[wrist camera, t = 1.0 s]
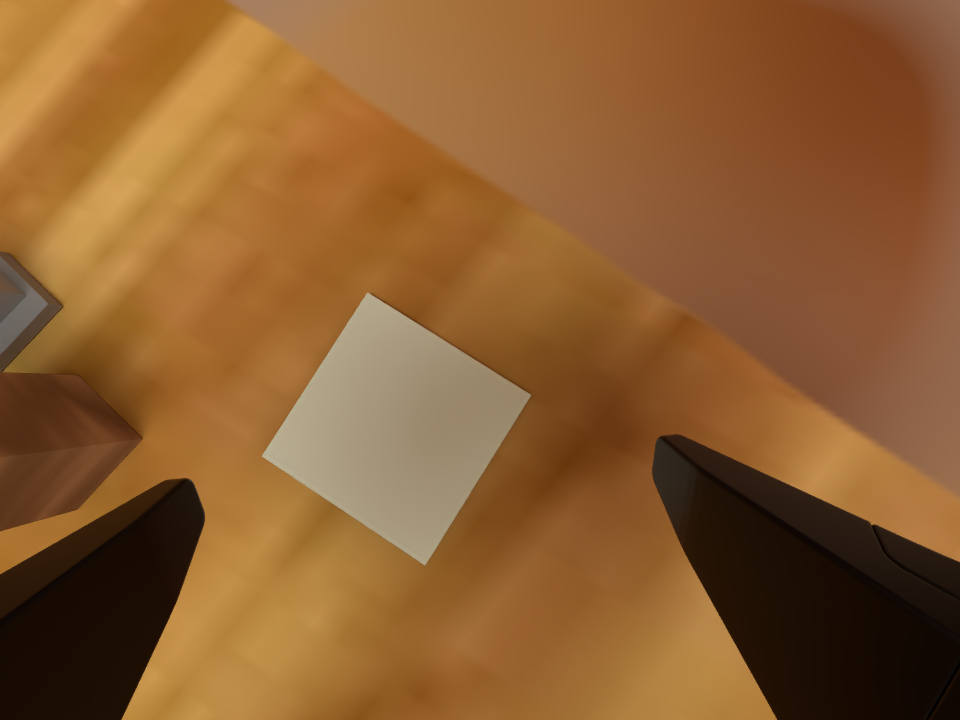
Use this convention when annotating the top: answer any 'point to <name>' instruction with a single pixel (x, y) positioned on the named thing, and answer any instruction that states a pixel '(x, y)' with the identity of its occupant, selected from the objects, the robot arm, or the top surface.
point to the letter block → (54, 445)
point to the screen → (21, 308)
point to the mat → (396, 427)
